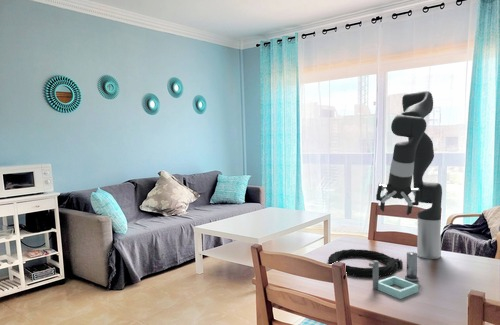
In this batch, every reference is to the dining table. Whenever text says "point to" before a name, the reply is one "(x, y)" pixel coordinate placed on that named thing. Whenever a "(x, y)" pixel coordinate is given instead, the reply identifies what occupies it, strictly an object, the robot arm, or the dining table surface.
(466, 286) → the dining table surface
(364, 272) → the cable lock
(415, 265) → the pin
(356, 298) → the dining table surface
